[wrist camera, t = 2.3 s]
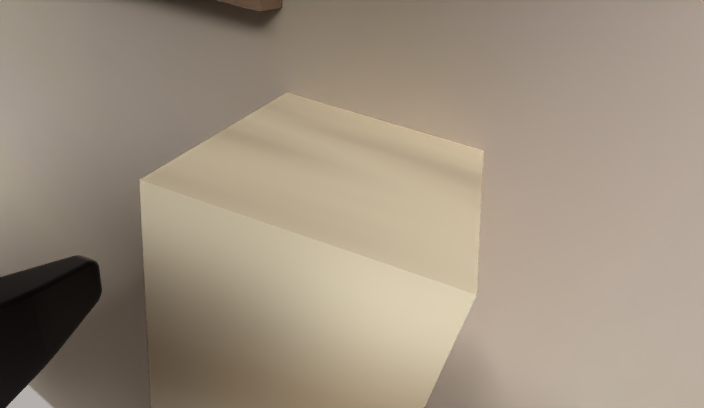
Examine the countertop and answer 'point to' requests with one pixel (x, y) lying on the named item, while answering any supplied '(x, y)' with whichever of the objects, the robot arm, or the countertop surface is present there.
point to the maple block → (308, 262)
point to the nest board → (255, 4)
